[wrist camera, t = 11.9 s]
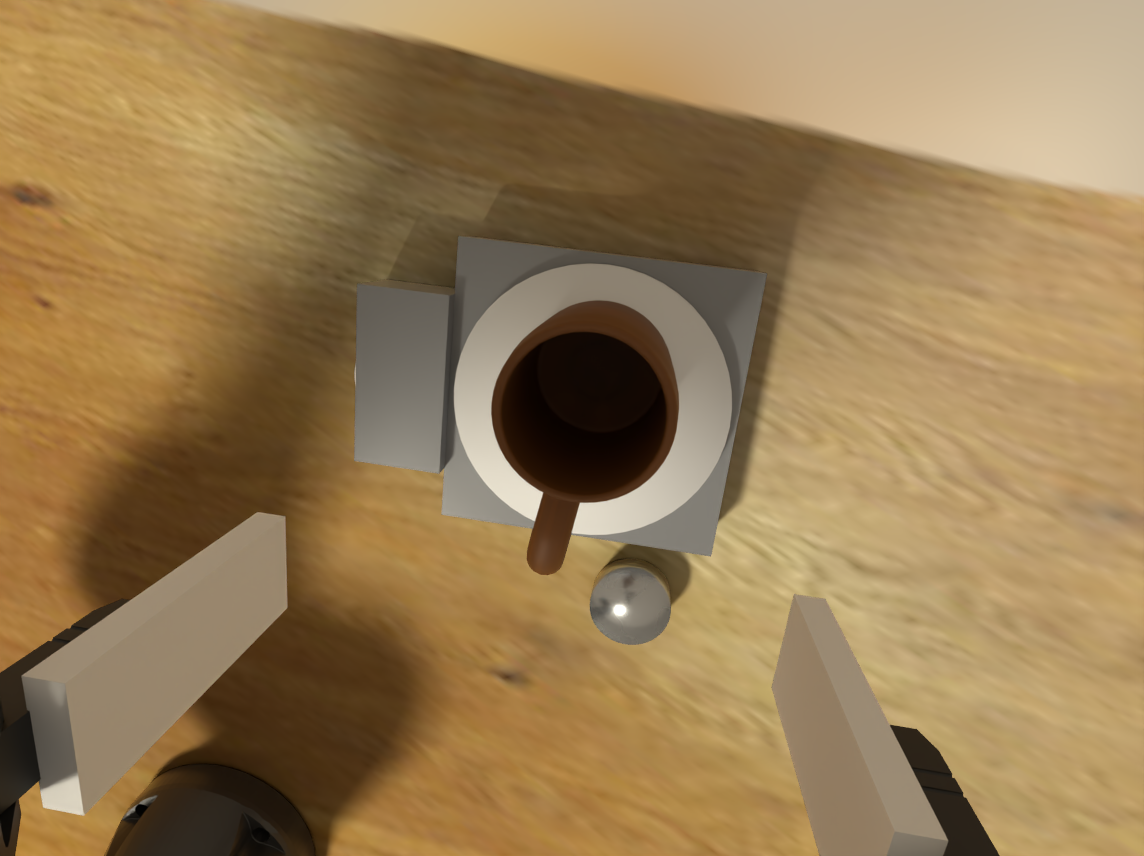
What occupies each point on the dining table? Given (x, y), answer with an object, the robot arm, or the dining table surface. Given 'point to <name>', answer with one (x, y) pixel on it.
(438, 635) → the dining table surface
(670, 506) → the scale
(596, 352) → the mug
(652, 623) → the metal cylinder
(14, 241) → the dining table surface
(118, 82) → the dining table surface
